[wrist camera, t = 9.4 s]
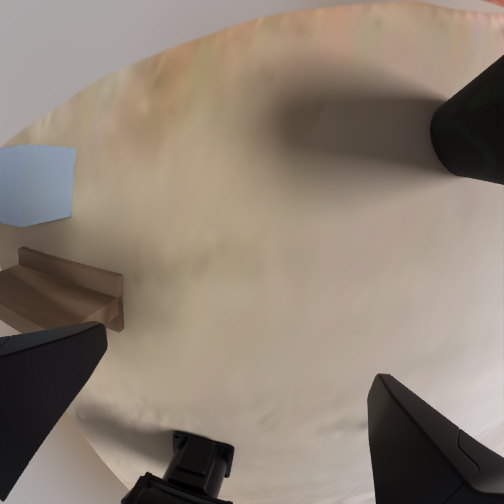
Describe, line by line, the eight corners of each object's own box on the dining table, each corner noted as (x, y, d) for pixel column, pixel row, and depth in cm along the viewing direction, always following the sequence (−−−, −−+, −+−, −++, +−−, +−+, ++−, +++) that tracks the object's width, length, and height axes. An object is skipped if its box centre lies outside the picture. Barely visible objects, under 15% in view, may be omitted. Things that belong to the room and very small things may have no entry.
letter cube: (71, 217, 22) (21, 228, 16) (33, 211, 23) (-12, 220, 17) (76, 147, 20) (25, 144, 15) (37, 150, 21) (-10, 150, 15)
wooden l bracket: (124, 328, 23) (68, 376, 15) (27, 290, 25) (-24, 316, 17) (122, 274, 22) (55, 312, 14) (23, 247, 24) (-34, 266, 16)
